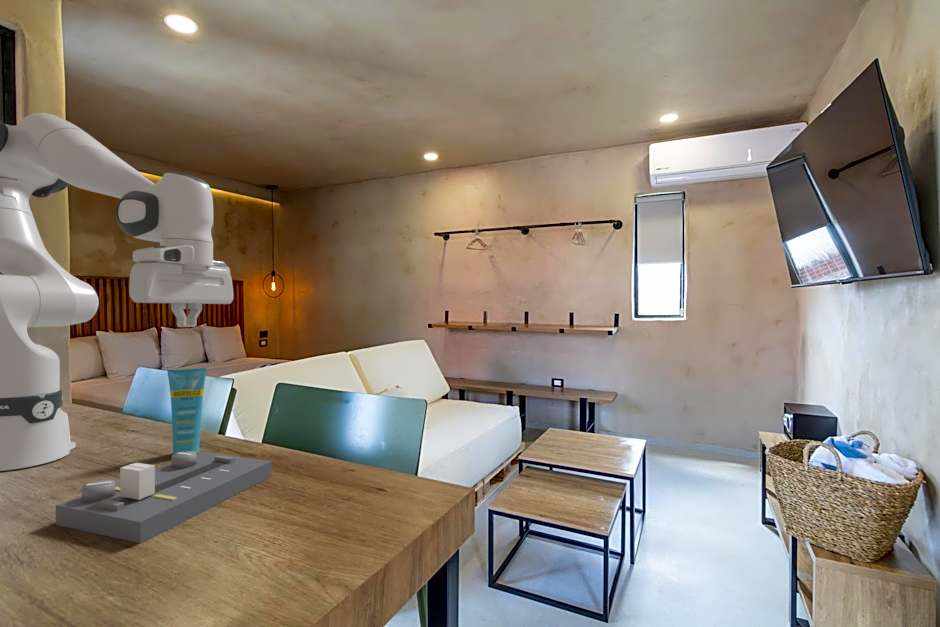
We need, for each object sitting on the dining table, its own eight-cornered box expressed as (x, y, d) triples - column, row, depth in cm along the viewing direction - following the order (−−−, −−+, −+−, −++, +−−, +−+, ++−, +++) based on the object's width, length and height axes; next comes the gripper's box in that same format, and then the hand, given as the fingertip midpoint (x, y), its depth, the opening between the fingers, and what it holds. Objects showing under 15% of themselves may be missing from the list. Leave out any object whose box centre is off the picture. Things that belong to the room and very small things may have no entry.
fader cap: (120, 496, 70) (120, 467, 70) (135, 490, 72) (136, 461, 72) (139, 499, 69) (139, 470, 68) (154, 493, 71) (154, 464, 71)
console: (55, 524, 67) (55, 490, 67) (202, 466, 92) (203, 441, 92) (140, 543, 62) (140, 506, 62) (271, 476, 87) (271, 450, 87)
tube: (166, 459, 96) (167, 370, 95) (166, 453, 100) (167, 367, 99) (206, 453, 100) (207, 368, 99) (205, 447, 104) (206, 366, 103)
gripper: (217, 262, 98) (217, 324, 98) (123, 250, 79) (122, 328, 79) (241, 262, 97) (240, 325, 97) (150, 249, 77) (149, 329, 77)
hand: (186, 326), depth 88 cm, fingers closed
